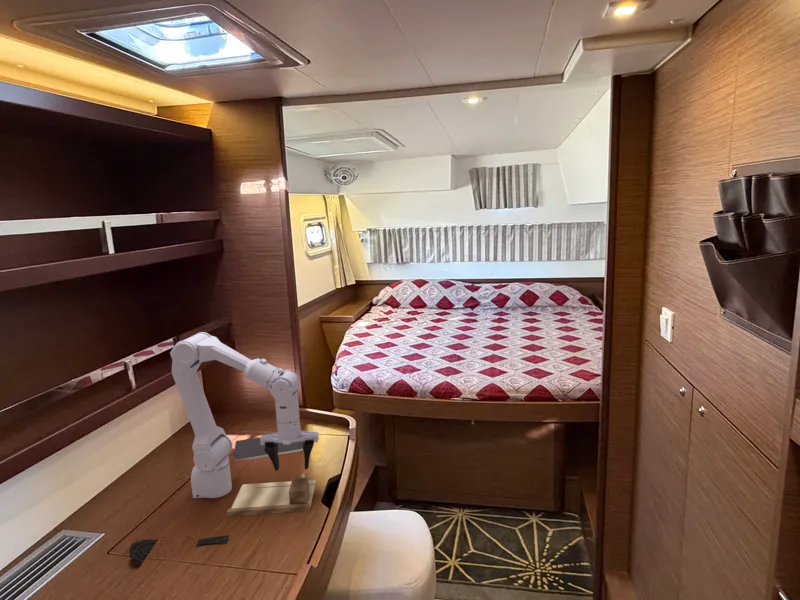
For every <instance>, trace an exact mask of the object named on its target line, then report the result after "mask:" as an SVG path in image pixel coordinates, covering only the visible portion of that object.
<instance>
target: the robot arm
mask: <svg viewBox="0 0 800 600" xmlns="http://www.w3.org/2000/svg"><path fill="white" fill-rule="evenodd" d="M169 354H170V358H171V361H172V362H171V375H172V378H173V381H174V383H175V385H176V388H177V390H178V393H179V396H180V399H181V402H182V403H183V407H184V410H185V411H186V414H187V417H188V420H189V423H190V425H191V428H192V430H193V433H194V438H193V439H194V440H193V442H192V445H191V446H192V447H191V449H192V452H193V463H194V466H193V468H192V469H191V470H192V471H191V473H190V483H191V484H190V485H191V491H192V498H193V499H199V498H200V499H201V498H206V499H216V498H221V497H224V496H226V495H228V493H230V492H231V491H232V489H233V483H232V474H231V465H230V453H231V451H232V450H233V442H232V440H231V438H230V437H229V436H228V435H227V433H226V432H225V430H224V428H222V427H220V426H218V425H217V424H216V421H215V419H214V415H213V413H212V410H211V408H210V405H209V402H208V399H207V397H206V395H205V391H204V388H203V386H202V384H201V381H200V377H199V376H198V372H197V371H198V370H199V367H200V366H201V364H202V363H205V362H206V363H207V362H209V361H218V362H220V363H222V364H224V365H227V366H229V367H232V368H234V369H236V370H239V371H241V372H243V374H244V375H245V378H246V380H249V381H250V382H253V383H254V384H257V385H258V386H260V387H262V388H264V389H267V390H269V392H270V394H271V396H272V397H273V399H274V403H275V404H274V405H275V416H276V417H275V418H276V429H277V432H273V433H268V434H267V433H266V434H261V436H260V437H261V438H260V442H261V445H265V448H264V450H265V452H266V453H267V455H268V456H269V457H268V458H269V459H270V461H271V464H272V466H273V468H274V472H278V471H279V469H280V457H279V455H278V443H283V445H289V444H291V443H293V442H303V451H302V452H303V457H304V470H308V469H309V465H310V457H311V453H312V451H313V447H314V445H315V443H319V440H320V437H319V431H307V430H302V429H301V419H300V407H299V406H300V405H299V394H298V389H299V387H300V384H301V380H300V379H301V378H300V377H299V375H298V374H297V373H296V372H295V371H294V370H293V369H285V370H284V368H281V367H277V366H274V365H272V364H270V363H268V362H267V361H268V360H267V359H265V358H259V357H258V358H255V359H250V358H249V357H247V356H245V355H243V354H242V353H240V352H238V351H237V350H235V349H233V348H231V347H229V346H228V345H227V344H224V343H223V342H221V341H220V340H219V338H218V337H217V336H214V335H211V334H209V333H207V332H205V331H204V332H203V331H200V332H197V333H195V334H193V335H191V336H190V337H187V338H186V339H183V340H180V341H177V343H176V344H175V345H173V348H172V349H171V350H170V352H169Z"/></svg>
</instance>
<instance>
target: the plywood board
mask: <svg viewBox="0 0 800 600" xmlns="http://www.w3.org/2000/svg"><path fill="white" fill-rule="evenodd" d="M308 481H309V498H308V502H307V503H305V504H290V500H289V489H290V486H291V482H292V480H290V481H276V482H275V481H273V482H260V483H258V482H257V483H248V484H247V483H246V484H244V483H243V484H242V485H241V487H240V489H239V491H238V492H237V495H236V497H235V499H234V501H233V503H232V506H231V508H228V509H227V511H226V516H227V517H238V516H239V517H240V516H252V515H253V516H254V515H255V516H256V515H266V514H269V515H270V514H281V513H283V514H284V513H292V512H293V513H294V512H296V513H297V512H309V511H310V510H311V506H312V502H313V501H312V500H313V496H314V492H315V488H316V483H317V482H316V481H317V479H308Z"/></svg>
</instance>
